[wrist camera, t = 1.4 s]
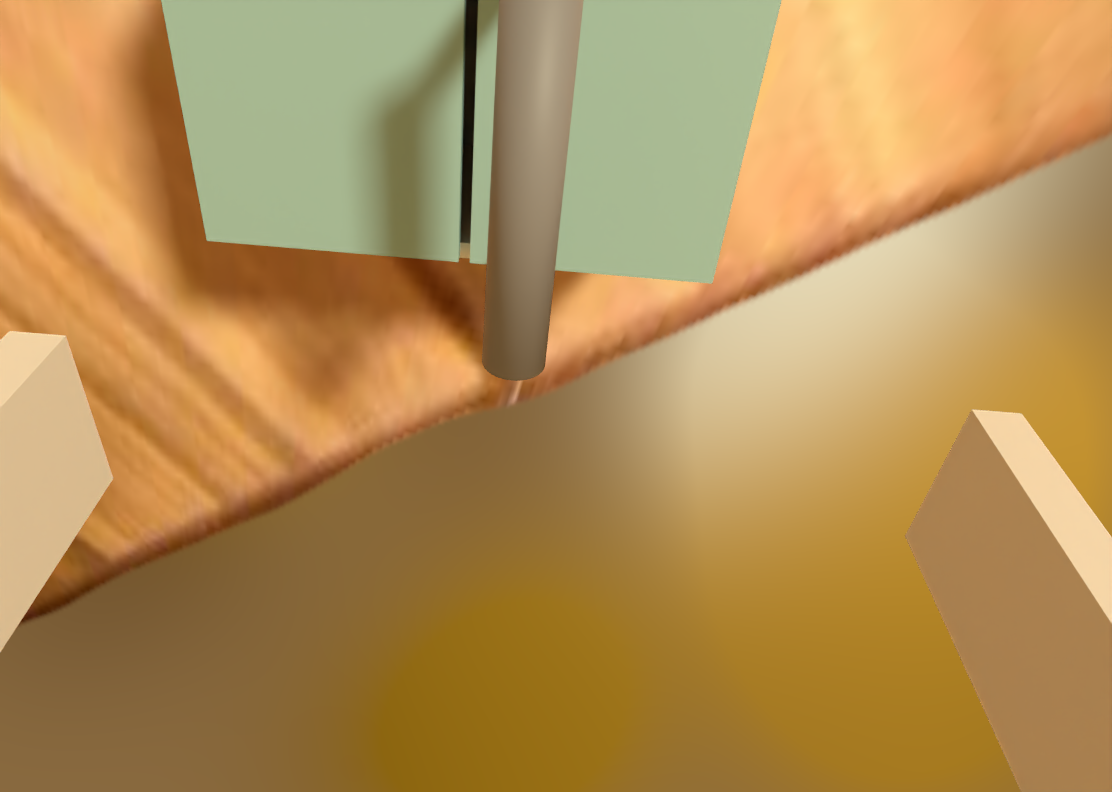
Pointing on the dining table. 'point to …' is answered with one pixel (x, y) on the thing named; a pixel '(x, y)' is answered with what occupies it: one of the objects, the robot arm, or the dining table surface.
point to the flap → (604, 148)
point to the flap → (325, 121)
